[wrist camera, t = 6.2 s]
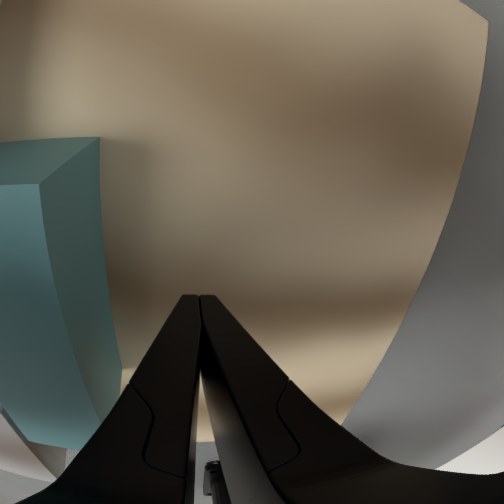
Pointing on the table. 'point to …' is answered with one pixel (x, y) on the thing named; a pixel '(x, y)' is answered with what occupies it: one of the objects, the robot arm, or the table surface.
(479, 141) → the table surface
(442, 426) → the table surface
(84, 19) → the wooden base board
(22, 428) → the teal t-shaped block
